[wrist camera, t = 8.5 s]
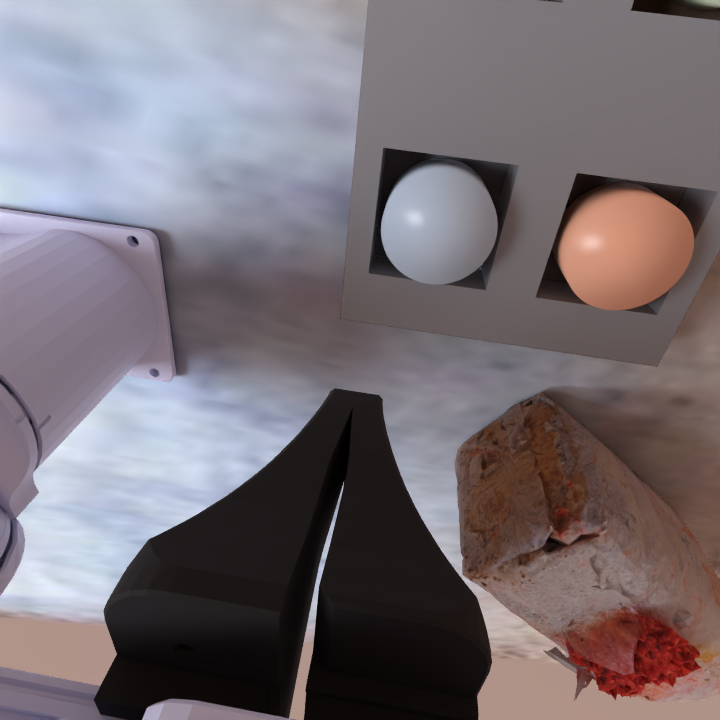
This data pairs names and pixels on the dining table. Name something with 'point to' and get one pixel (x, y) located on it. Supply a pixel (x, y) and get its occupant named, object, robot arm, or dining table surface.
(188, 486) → the dining table surface
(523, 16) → the button panel
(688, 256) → the terracotta button
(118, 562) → the dining table surface
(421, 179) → the blue button
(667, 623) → the food item
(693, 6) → the sage button
